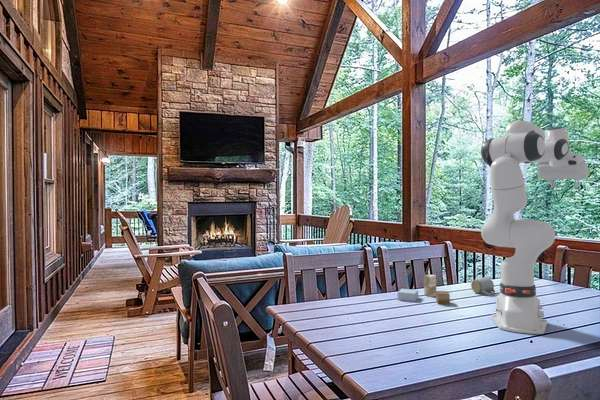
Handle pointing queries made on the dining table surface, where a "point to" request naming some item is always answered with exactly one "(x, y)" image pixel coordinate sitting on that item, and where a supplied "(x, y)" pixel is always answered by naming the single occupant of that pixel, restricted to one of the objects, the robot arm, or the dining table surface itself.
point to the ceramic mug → (483, 286)
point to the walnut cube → (443, 297)
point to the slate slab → (408, 295)
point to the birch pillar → (430, 285)
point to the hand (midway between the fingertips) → (564, 186)
